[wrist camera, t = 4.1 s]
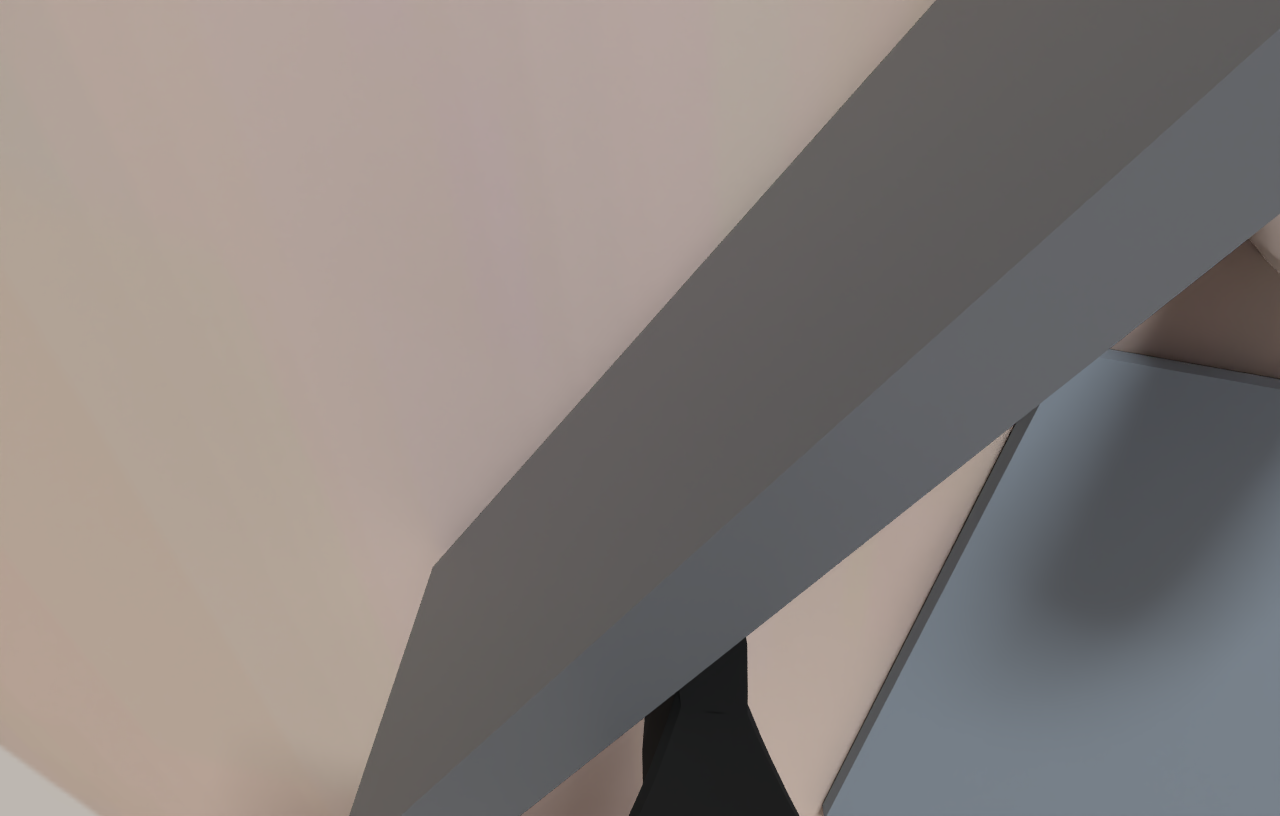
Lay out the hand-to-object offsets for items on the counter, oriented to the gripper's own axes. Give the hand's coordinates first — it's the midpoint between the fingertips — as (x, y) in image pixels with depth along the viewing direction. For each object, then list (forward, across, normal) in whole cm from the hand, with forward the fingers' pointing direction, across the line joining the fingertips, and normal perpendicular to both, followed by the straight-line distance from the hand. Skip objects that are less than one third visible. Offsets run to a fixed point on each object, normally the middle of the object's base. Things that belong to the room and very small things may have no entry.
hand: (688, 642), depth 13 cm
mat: (+4, -12, +3) cm, 14 cm away
